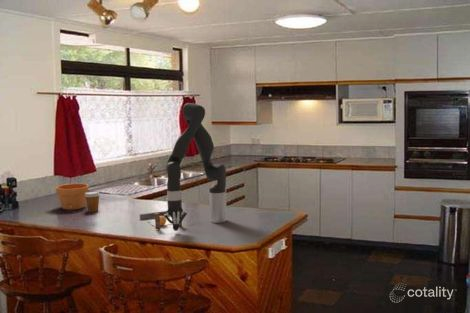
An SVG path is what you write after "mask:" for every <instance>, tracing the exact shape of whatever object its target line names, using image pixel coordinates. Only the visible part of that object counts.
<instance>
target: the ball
mask: <svg viewBox="0 0 470 313" xmlns="http://www.w3.org/2000/svg"><path fill="white" fill-rule="evenodd" d="M165 223H166V218H165V217H164V216H160V227H163V226H165V225H164V224H165Z"/></svg>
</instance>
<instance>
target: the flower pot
mask: <svg viewBox="0 0 470 313" xmlns="http://www.w3.org/2000/svg"><path fill="white" fill-rule="evenodd" d="M89 188H90V187H89V184H87V183H77V182H76V183H67V184H66V183H65V184H61V185H60V184H59V185H57V186H56V187H55V190H56V191H55V192H56V194H57V195H58V199H59V202H60V205H61V208H62V209H63V210H71V211H72V210H78V209H82V208H84V207H85V206H86V197H85V193H86V192H89Z"/></svg>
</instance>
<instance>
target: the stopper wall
mask: <svg viewBox="0 0 470 313" xmlns="http://www.w3.org/2000/svg"><path fill="white" fill-rule="evenodd" d="M155 213H159V215H160V216H163V215H164V214H166V213H167V210H163V211H154V212H145V213H139V220H140V219H142V220H147V219H146V218H150V219H153V218H152V217H155ZM168 215H169V214H168ZM169 216H170V215H169Z"/></svg>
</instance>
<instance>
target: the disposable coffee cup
mask: <svg viewBox="0 0 470 313" xmlns="http://www.w3.org/2000/svg"><path fill="white" fill-rule="evenodd" d="M85 197H86V201H85V203H86V207H87V211H88V212H89V213H90V212H91V213H92V212H98V211H99V202H100V201H99V200H100V191H96V190H95V191H88V192H86V193H85Z"/></svg>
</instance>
